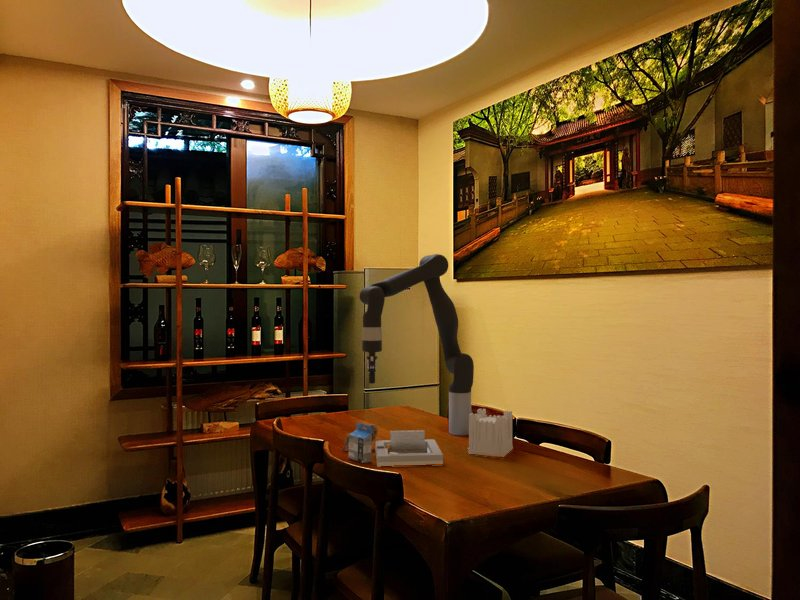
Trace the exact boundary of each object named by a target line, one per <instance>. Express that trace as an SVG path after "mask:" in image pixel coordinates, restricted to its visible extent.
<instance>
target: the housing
mask: <svg viewBox="0 0 800 600" xmlns="http://www.w3.org/2000/svg"><path fill="white" fill-rule="evenodd" d="M387 444H390V439H387V440H386V439H385V440H383V439H382V440H374V446H375V447H374V450H375V451H374V452H375V458H376V459H377V460H376V466H377V468H378V467H379V468H381V466H392V467H395V466H394V465H426V464H443V465H444V454H443V452H442V451H441V449H440V447H439V445H438V443H437V442H436V440H435V439H429V438H427V439H425V446H426V447H427V453H394V452H390V453H389V454H387Z"/></svg>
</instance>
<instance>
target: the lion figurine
mask: <svg viewBox="0 0 800 600" xmlns="http://www.w3.org/2000/svg"><path fill="white" fill-rule="evenodd" d="M369 426H371V431H372V442H375V441H376V438H377V435H378V432H379V429H378V425H376V424H373V423H371V424H369ZM365 429H366V430H367V428H365ZM351 433H352V432H350V433H349V432H348V434H347V435H346V436H345V439H344V441H343V447H342V449H341V452H344V451H348V448H347V446H349V434H351ZM372 450H373V449H372V448H371V451H372Z"/></svg>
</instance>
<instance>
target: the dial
mask: <svg viewBox="0 0 800 600" xmlns="http://www.w3.org/2000/svg"><path fill="white" fill-rule="evenodd" d="M425 435H426V433H425V429H423V430H422V429H421V430H420V429H418V430H417V429H416V430H413V429H412V430H410V429H409V430H390V431H389V436H390V437H389V438H390V439H389V440H390V444H387V454H389V453H390V452H394V453H427V447H426V446H425V438H426V437H425Z"/></svg>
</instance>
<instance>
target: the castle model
mask: <svg viewBox="0 0 800 600" xmlns="http://www.w3.org/2000/svg"><path fill="white" fill-rule="evenodd" d="M476 411H477V412H476V413H473V412H472V413H471V414H469V435H468V447H467V449H468V450H469V451H468V450H467V452H468V453H469V454H479V455H491V456H502V457H504V456H505V455H506V454H507V453H509V452H510V451H511V450H512V449H513V450H514V446H513V411H512V410H504V411H503V415H494V414H493V416H492V415H491V414H489V415H488V414H487V408H478V409H477V410H476ZM513 450H512V451H513ZM512 451H511V452H512ZM511 452H510V453H511ZM468 453H467V454H468ZM510 453H509V454H510ZM469 454H468V455H469Z"/></svg>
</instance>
